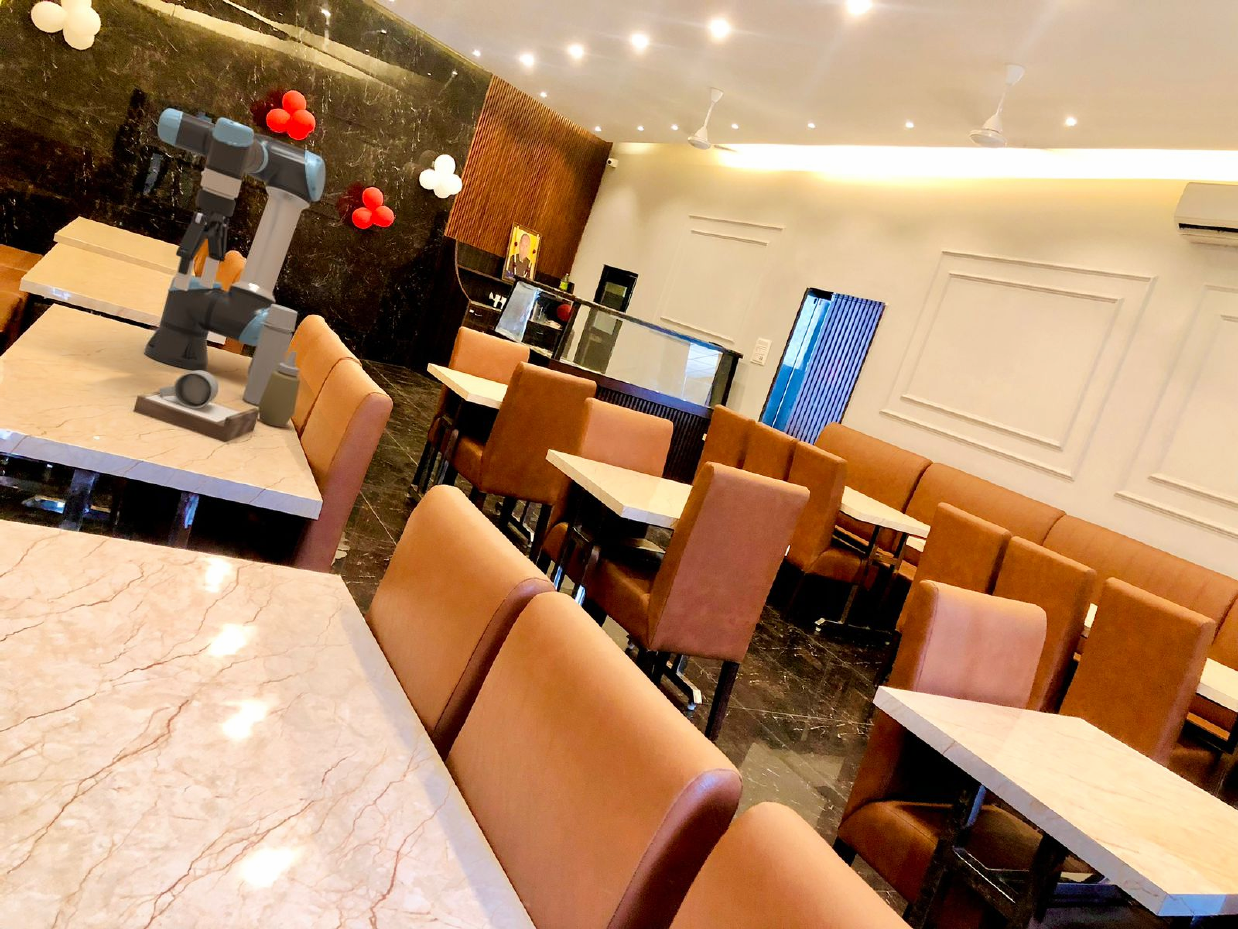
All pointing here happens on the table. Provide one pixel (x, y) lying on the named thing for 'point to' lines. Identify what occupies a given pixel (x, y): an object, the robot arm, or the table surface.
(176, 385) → the ceramic mug
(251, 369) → the water bottle
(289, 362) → the squeeze bottle
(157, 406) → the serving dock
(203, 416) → the mat
